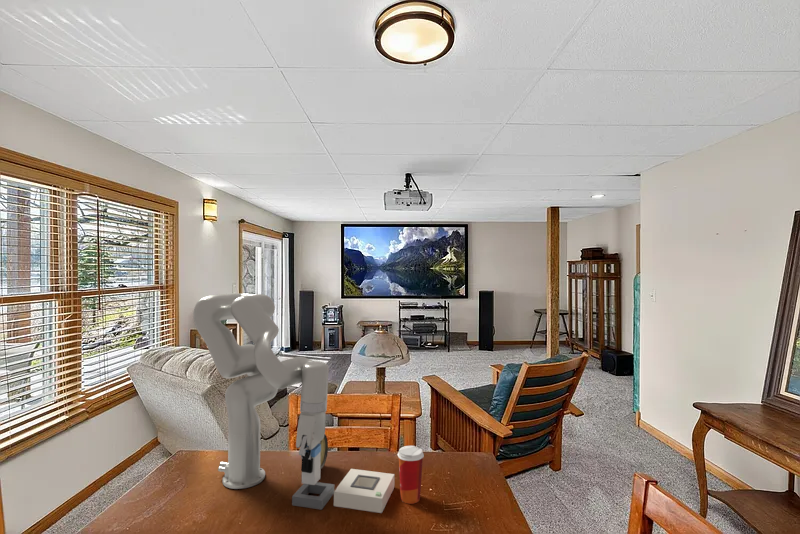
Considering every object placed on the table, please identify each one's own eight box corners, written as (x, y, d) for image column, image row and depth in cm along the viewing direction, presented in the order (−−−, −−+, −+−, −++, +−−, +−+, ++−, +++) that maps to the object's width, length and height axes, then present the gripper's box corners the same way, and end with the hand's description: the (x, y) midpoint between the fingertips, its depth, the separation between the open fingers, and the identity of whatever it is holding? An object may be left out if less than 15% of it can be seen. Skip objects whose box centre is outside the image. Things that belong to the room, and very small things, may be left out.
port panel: (333, 505, 119) (333, 489, 119) (350, 481, 132) (351, 467, 132) (381, 513, 115) (381, 496, 115) (394, 487, 129) (394, 472, 129)
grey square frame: (292, 505, 119) (292, 496, 119) (306, 488, 128) (306, 480, 128) (321, 509, 117) (321, 500, 117) (334, 492, 125) (334, 484, 125)
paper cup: (410, 488, 128) (410, 442, 128) (429, 498, 123) (429, 450, 123) (391, 498, 123) (391, 450, 123) (410, 509, 117) (410, 458, 117)
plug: (301, 483, 121) (301, 448, 121) (307, 476, 125) (307, 442, 125) (314, 485, 120) (314, 450, 120) (320, 478, 124) (321, 444, 124)
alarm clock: (316, 479, 133) (316, 427, 133) (300, 477, 135) (300, 426, 135) (328, 463, 144) (329, 416, 144) (313, 462, 145) (314, 414, 145)
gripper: (314, 395, 131) (311, 453, 132) (287, 413, 115) (284, 480, 115) (336, 398, 130) (333, 457, 130) (313, 417, 113) (309, 485, 114)
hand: (310, 467), depth 123 cm, fingers closed on plug, 4 cm apart
